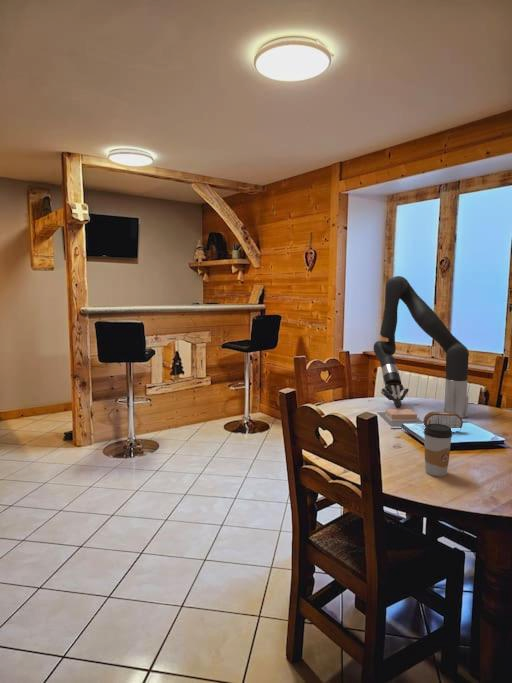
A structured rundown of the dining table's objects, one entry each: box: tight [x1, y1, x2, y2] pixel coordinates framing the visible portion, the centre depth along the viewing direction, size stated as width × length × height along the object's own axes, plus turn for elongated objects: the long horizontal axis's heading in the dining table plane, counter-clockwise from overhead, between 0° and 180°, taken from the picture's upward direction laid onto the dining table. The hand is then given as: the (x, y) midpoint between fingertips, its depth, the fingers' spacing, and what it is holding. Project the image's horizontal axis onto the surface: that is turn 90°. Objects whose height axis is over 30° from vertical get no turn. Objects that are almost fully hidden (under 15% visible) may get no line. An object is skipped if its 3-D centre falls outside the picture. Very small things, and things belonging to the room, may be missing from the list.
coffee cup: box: [423, 424, 453, 477], centre depth 140 cm, size 8×8×15 cm
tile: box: [385, 408, 418, 421], centre depth 197 cm, size 11×3×9 cm
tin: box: [423, 411, 464, 429], centre depth 182 cm, size 15×3×8 cm, turn 84°
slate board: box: [376, 411, 424, 430], centre depth 197 cm, size 16×22×1 cm
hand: (398, 407), depth 200 cm, fingers closed
